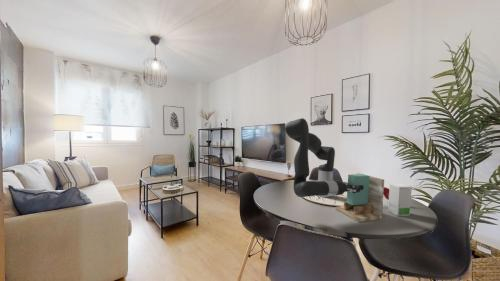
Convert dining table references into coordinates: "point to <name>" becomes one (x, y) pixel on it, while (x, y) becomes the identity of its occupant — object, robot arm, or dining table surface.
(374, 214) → the book rack
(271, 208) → the dining table surface
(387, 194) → the white red flat box
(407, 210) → the skincare box
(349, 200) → the book
